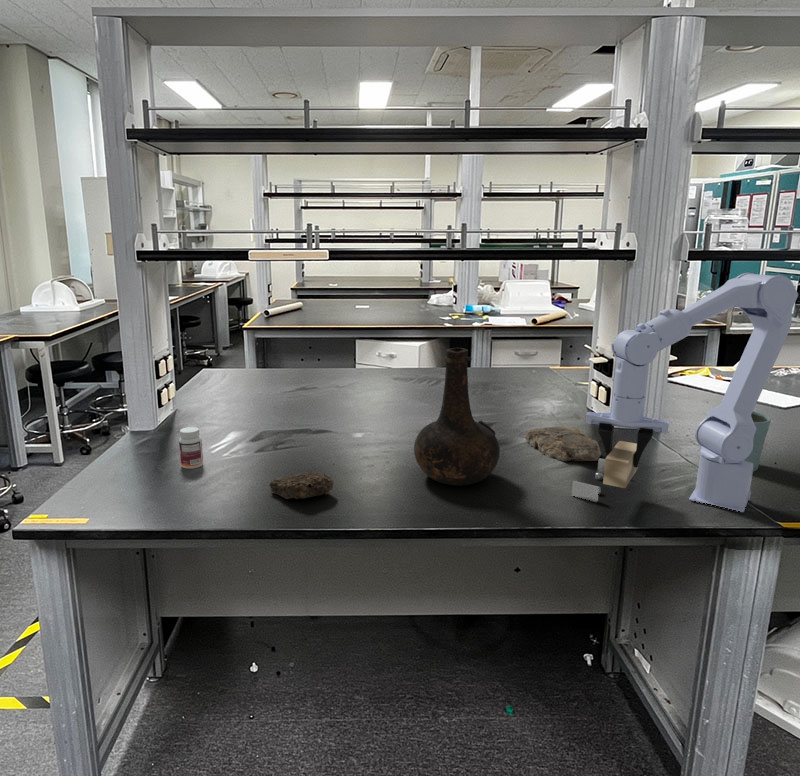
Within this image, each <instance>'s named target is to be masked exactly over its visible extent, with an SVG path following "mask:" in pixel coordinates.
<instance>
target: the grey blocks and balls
mask: <svg viewBox="0 0 800 776" xmlns="http://www.w3.org/2000/svg"><path fill="white" fill-rule="evenodd" d="M597 461H598V462H597V471H596V472H595V475H594V479H595V480H597V481H603V478H604V467H605V458H600V457H599V458H598V459H597ZM598 494H599V495H601V487H600V486H598V485H593V484H589V483H585V482H581V481H577V480H573V481H572V486H571V496H570V497H573V496H575V497H574V498H577V497H578V499H581V498H582V499H581V500H585V499H586V501H589V500H590V502H594V503H597V502H598V501H599V495H598Z"/></svg>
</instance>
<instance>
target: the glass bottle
mask: <svg viewBox="0 0 800 776" xmlns="http://www.w3.org/2000/svg"><path fill="white" fill-rule="evenodd" d="M445 351H446V352H445V353H446V355H445V356H443V357H442V361H443V362H445V374H444V385H443V386H444V387H443V395H442V402H441V407H440V412H439V415H438V418H437V419H436V420H435V421H432V422H430V423H428V424H427V425H425V426H424V427H423V428H422V429H421V430H420V431H419V432H418V434H417V436H416V437H415V440H414V445H413V453H414V458H415V460H416V463H417V465H418V466H419V468H420V469H421V471H423V473H424V474H425V475H427V477H429V478H430V479H432V480H433V481H436V482H438V483H440V484H443V485H447V486H448V485H450V486H469V485H473V484H476V483H478V482H481V481H483V480H485V479H486V478H487V477H489V476H490V474H492V472H493V471H494V470H495V468H496V466H497V464H498V462H499V460H500V451H501V450H500V444H499V441H498V438H497V437H496V431H494V429H493V428H491V426H489V425H488V424H487V423H485V422H484V421H483V420H478V422H477V421H475V419H474V417H473V414H472V410H471V403H470V396H469V382H468V379H469V378H468V377H469V375H468V362H470V361H471V360H472V358H471V357H470V356H468V353H469V350H468V349H467V348H463V347H452V348H447V349H446V350H445Z"/></svg>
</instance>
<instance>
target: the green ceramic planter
mask: <svg viewBox="0 0 800 776" xmlns="http://www.w3.org/2000/svg"><path fill="white" fill-rule="evenodd" d="M751 417H752V419H753V422H754V424H755V426H756V432H755V434H754V438H753V449H752V452H751V453H750V455H749V456H748V457H747V458H746V459H745V460H744V461H747V462H750V463H753V472H756V471H758V468H759V466H760V460H761V456H762V453H763V450H764V445H765V441H766V437H767V435H768V433H769V432H768V431H769V429H770V424H771V421H772V420H771V418H770V417H769V416H768V415H766V414H764V413H761V412H757V411H754V410H753V412H752V414H751ZM728 425H730V424H729V423H728Z"/></svg>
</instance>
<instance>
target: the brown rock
mask: <svg viewBox="0 0 800 776" xmlns="http://www.w3.org/2000/svg"><path fill="white" fill-rule="evenodd" d="M269 487H270V491H271V492H272V493H274V494H275V495H279V496H280V497H282V498H284V499H286V500H288V499H296V500H298V499H306V498H307V499H308V498H313V497H316V496H322V495H328V494H329V492H330V491H332V490H333V489H334V480H333V479H332V476H331V475H329V474H325V473H323V474H319V473H318V472H312V471H304V472H303V473H298V474H292V475H288V476H283V477H282V478H276V479H274V480H272V481H270V483H269Z"/></svg>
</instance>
